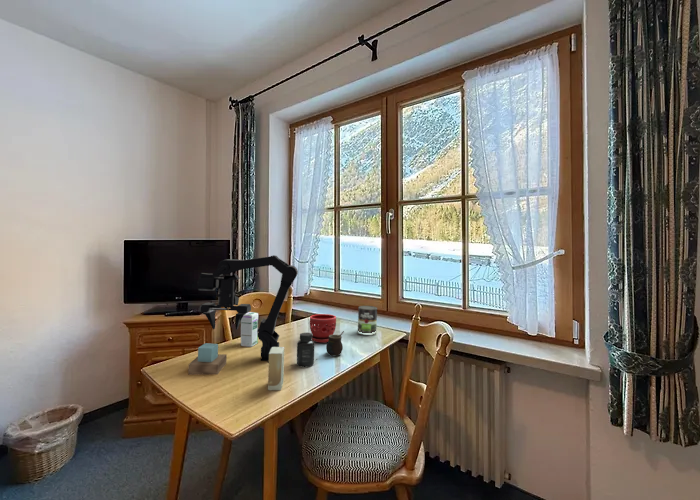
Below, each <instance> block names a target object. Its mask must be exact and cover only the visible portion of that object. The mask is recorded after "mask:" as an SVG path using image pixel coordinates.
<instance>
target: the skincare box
mask: <svg viewBox="0 0 700 500" xmlns="http://www.w3.org/2000/svg"><path fill="white" fill-rule="evenodd" d="M284 366H285V346H279V347H272V348H271V350H270V352H269V361H268V374H267V375H268V377H267V379H268V380H267V390H268V391H281V390H282V389H283V385H284V375H285V374H284V372H285V371H284V369H285V367H284Z"/></svg>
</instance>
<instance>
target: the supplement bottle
mask: <svg viewBox="0 0 700 500" xmlns="http://www.w3.org/2000/svg"><path fill="white" fill-rule="evenodd" d="M314 364H315V341H313V340H312V333H311V332H302V333H300V334H299V340H298V341H297V343H296V365H297V366H298V367H300V368H309V367H312V366H313V365H314Z"/></svg>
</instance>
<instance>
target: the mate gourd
mask: <svg viewBox="0 0 700 500" xmlns="http://www.w3.org/2000/svg"><path fill="white" fill-rule="evenodd" d="M344 333H345V331H344V330H343V331H342V332H341V333H340V334H333V335H329V338H328V339H329V340H328V343H327V342H326V346H325V350H326V353H327V354H328V355H329V356H330V355H331V356H332V357H338V356H340V355H341V354H342V351H343V350H344V349H343V344H342V335H343V334H344Z"/></svg>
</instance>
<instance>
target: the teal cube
mask: <svg viewBox="0 0 700 500" xmlns="http://www.w3.org/2000/svg"><path fill="white" fill-rule="evenodd" d="M218 354H219V344H218V343H210V342H209V343H207V342H206V343H203V344H202V345H200V346H198V347H197V356H198V361H199V362H212V361H213V360H215V359H216V358H217V357H218Z"/></svg>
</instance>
